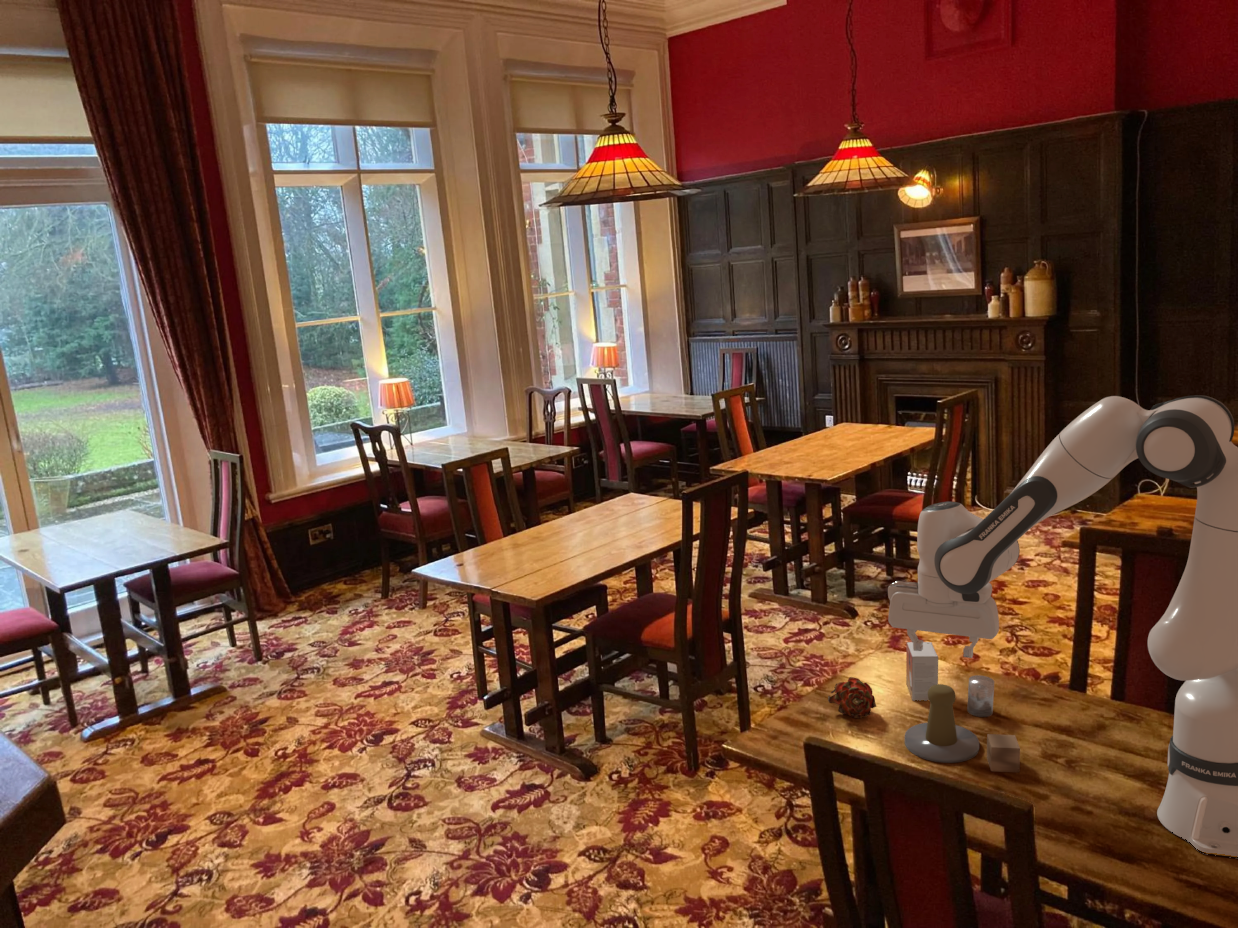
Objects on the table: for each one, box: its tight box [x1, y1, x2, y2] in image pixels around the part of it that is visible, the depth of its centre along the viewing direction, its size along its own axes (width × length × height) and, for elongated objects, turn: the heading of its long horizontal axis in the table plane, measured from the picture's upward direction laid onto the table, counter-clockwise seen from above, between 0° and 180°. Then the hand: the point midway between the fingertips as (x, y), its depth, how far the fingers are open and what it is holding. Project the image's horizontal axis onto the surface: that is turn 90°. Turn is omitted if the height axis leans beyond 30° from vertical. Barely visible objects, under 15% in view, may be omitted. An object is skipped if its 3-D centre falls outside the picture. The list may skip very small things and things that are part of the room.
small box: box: [905, 641, 939, 702], centre depth 213 cm, size 8×6×10 cm
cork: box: [925, 683, 957, 746], centre depth 191 cm, size 6×6×11 cm
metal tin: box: [966, 674, 995, 718], centre depth 203 cm, size 5×5×7 cm
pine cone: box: [827, 676, 877, 719], centre depth 206 cm, size 8×8×12 cm
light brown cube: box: [986, 733, 1021, 773], centre depth 183 cm, size 5×5×5 cm
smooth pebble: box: [904, 722, 980, 764], centre depth 192 cm, size 14×14×1 cm
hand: (942, 653), depth 188 cm, fingers open, 8 cm apart
